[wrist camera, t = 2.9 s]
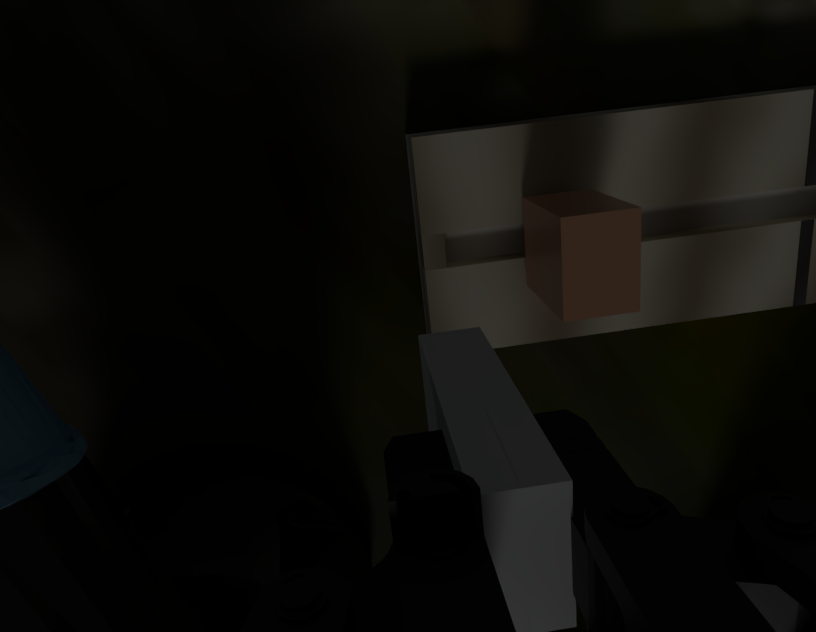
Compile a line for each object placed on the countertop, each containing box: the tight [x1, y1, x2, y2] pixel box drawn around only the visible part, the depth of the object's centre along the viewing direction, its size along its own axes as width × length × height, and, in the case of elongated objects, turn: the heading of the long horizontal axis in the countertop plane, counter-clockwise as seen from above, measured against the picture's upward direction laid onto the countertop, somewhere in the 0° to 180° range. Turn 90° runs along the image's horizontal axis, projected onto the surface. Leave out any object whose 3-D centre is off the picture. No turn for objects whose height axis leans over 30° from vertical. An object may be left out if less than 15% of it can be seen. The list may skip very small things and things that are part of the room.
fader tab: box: [523, 189, 642, 322], centre depth 26 cm, size 3×4×6 cm
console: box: [405, 85, 816, 348], centre depth 30 cm, size 24×10×3 cm, turn 96°
